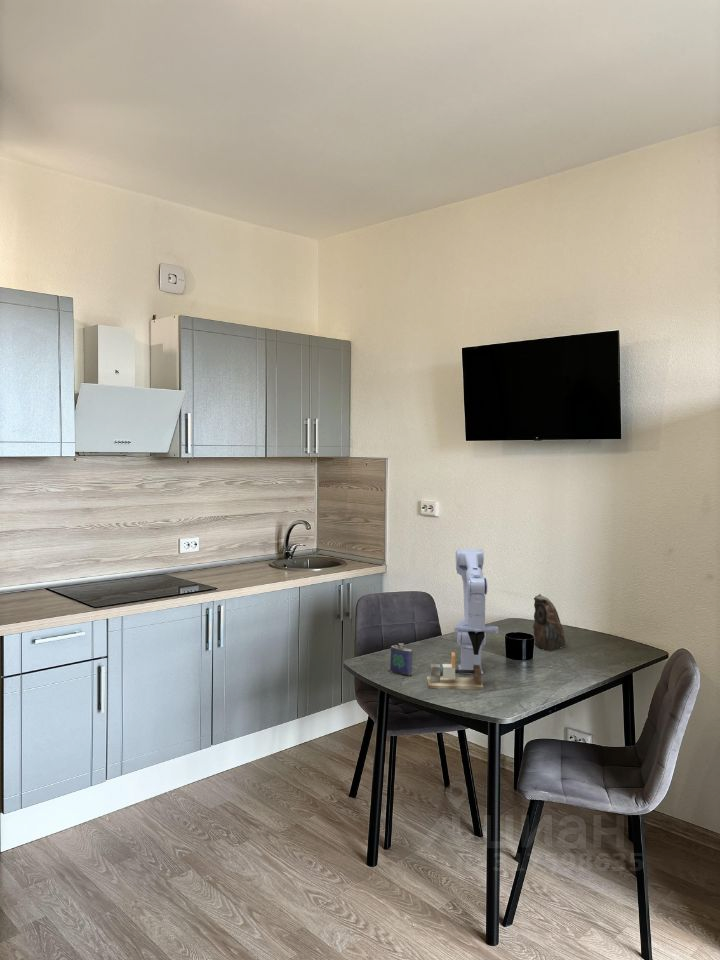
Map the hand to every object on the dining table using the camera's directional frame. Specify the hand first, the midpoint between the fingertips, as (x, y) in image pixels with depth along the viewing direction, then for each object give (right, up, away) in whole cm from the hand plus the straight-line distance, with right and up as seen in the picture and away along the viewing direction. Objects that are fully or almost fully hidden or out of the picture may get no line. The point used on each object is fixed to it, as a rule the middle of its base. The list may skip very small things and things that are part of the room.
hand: (475, 654), depth 245 cm
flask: (-25, -10, +12) cm, 29 cm away
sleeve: (-9, -8, 0) cm, 12 cm away
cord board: (-7, -10, 0) cm, 13 cm away
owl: (+37, -9, +47) cm, 61 cm away
